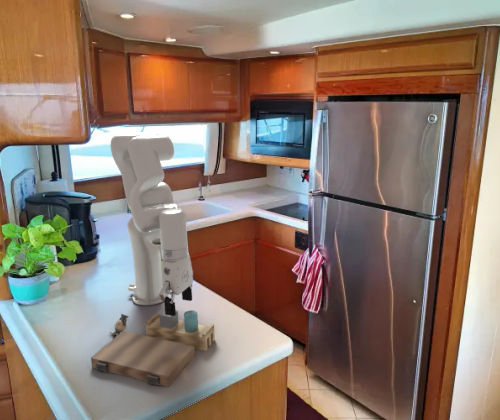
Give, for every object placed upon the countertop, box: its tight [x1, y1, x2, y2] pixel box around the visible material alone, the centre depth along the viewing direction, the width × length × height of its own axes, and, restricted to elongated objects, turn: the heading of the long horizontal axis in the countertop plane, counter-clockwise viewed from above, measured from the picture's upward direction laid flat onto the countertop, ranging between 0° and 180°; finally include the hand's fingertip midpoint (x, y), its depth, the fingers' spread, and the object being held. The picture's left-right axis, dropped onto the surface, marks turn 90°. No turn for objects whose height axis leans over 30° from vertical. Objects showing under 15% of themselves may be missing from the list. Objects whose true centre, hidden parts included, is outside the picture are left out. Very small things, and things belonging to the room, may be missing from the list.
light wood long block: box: [145, 313, 216, 352], centre depth 123 cm, size 20×6×6 cm, turn 70°
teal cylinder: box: [183, 309, 199, 333], centre depth 121 cm, size 4×4×5 cm
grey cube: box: [158, 309, 179, 329], centre depth 123 cm, size 4×4×4 cm
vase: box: [109, 313, 129, 337], centre depth 127 cm, size 5×5×6 cm
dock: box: [90, 330, 196, 388], centre depth 113 cm, size 24×15×3 cm, turn 70°
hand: (179, 307), depth 120 cm, fingers open, 9 cm apart
